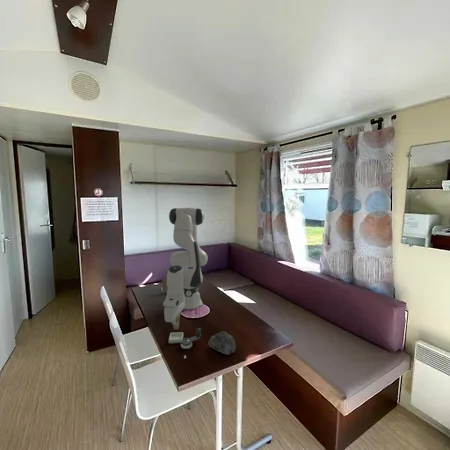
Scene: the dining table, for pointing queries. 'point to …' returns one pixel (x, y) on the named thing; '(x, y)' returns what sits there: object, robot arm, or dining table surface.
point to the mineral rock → (222, 343)
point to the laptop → (164, 285)
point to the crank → (188, 340)
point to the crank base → (186, 347)
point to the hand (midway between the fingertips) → (176, 322)
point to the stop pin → (177, 323)
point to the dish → (176, 337)
